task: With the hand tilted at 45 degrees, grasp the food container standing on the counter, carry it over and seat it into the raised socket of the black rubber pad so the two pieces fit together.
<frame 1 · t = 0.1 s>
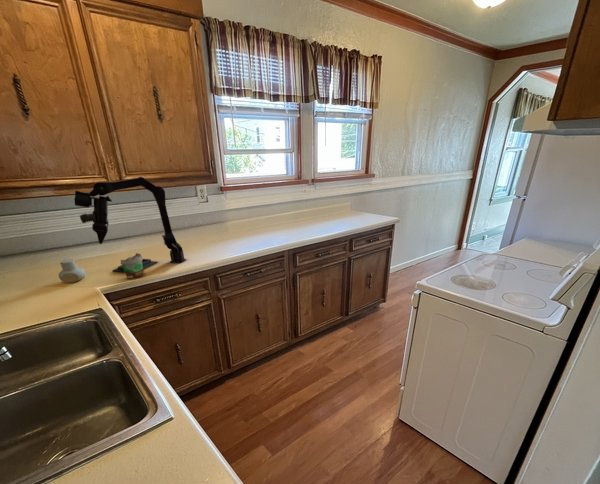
hand: (100, 241, 163), 15 cm above the worktop, tool pointing down, fingers open, 9 cm apart
air freshener: (74, 281, 158), on the worktop
pad: (135, 267, 175), on the worktop
food container: (139, 276, 162), on the worktop
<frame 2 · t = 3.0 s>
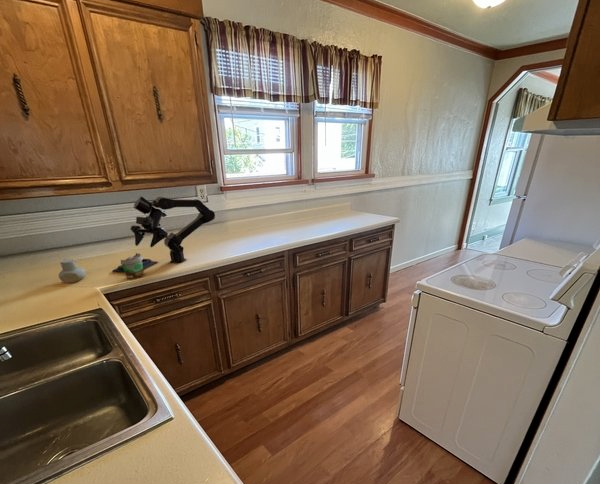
hand: (143, 246, 163), 13 cm above the worktop, tool tilted 45°, fingers open, 9 cm apart
nothing on the worktop moved.
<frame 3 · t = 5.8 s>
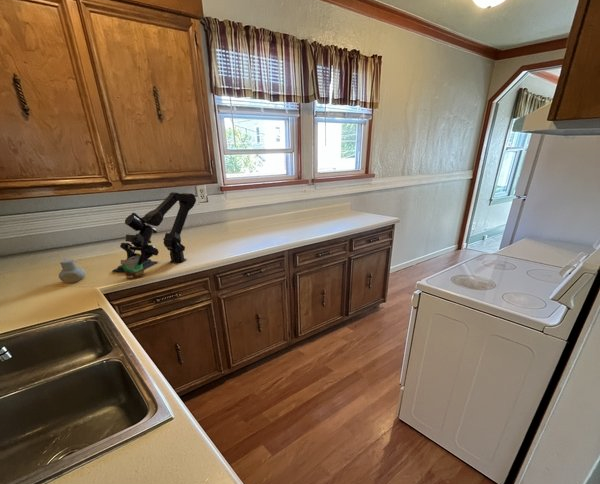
hand: (133, 264, 158), 7 cm above the worktop, tool tilted 45°, fingers closed on food container, 6 cm apart
food container: (139, 276, 162), on the worktop, touching gripper
everything else where it was.
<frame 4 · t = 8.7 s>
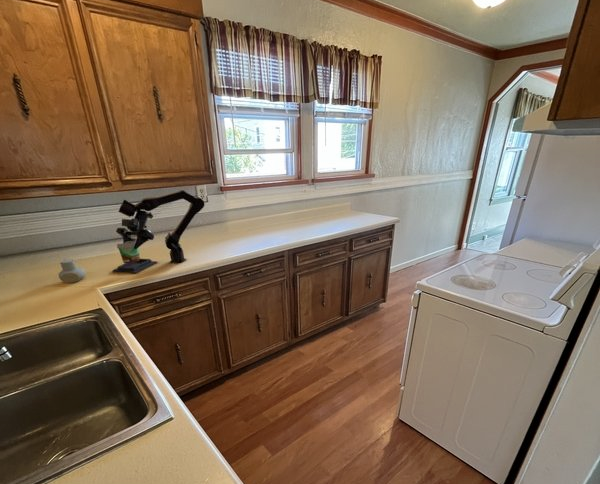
hand: (129, 248, 162), 12 cm above the worktop, tool tilted 45°, fingers closed on food container, 6 cm apart
food container: (135, 260, 166), point 6 cm above the worktop, touching gripper
everything else where it was.
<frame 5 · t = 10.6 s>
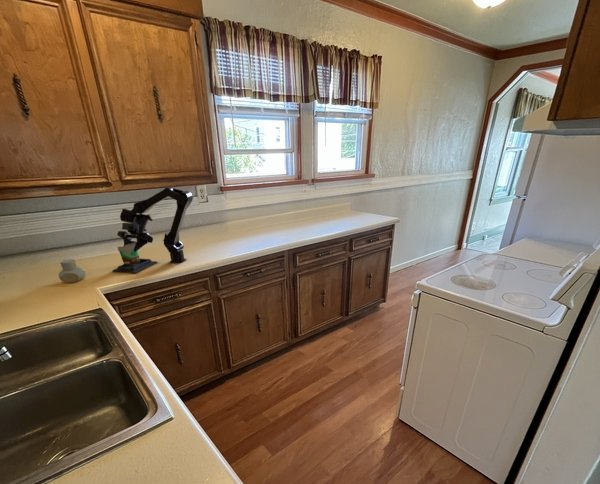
hand: (129, 250, 170), 9 cm above the worktop, tool tilted 45°, fingers closed on food container, 6 cm apart
food container: (135, 262, 174), point 2 cm above the worktop, touching gripper
everything else where it was.
when the fingers open (7 cm above the worktop, at t = 11.7 s): food container stays where it is, resting on pad.
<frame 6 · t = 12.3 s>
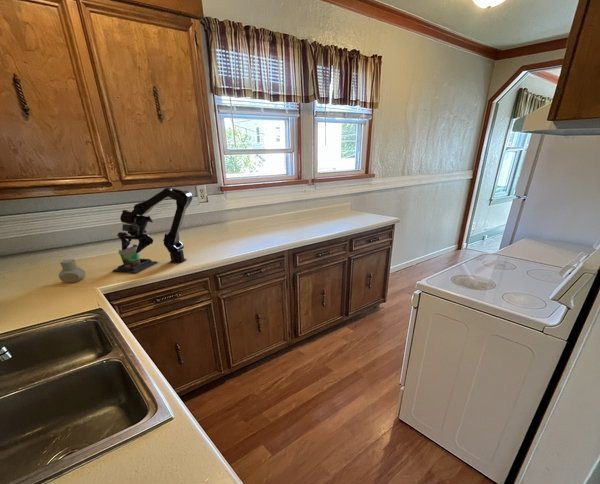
hand: (129, 252, 170), 9 cm above the worktop, tool tilted 45°, fingers open, 9 cm apart
food container: (136, 266, 175), point 1 cm above the worktop, touching pad
everything else where it was.
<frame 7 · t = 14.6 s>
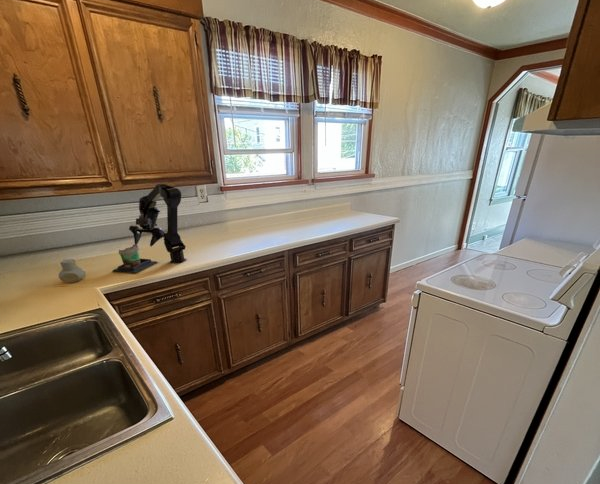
hand: (143, 245, 177), 10 cm above the worktop, tool tilted 40°, fingers open, 9 cm apart
nothing on the worktop moved.
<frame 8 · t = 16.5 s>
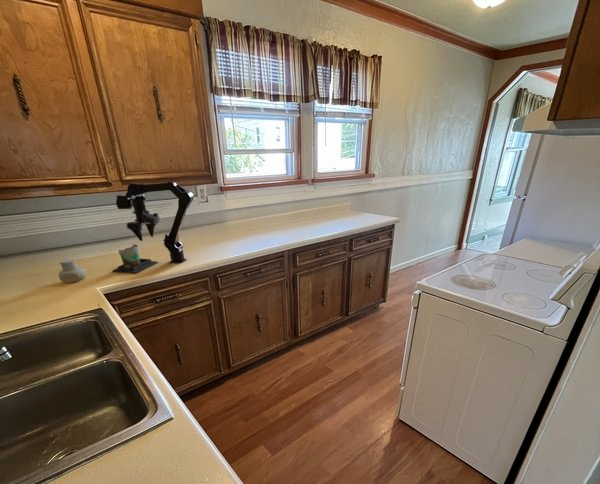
hand: (146, 238, 177), 13 cm above the worktop, tool pointing down, fingers open, 9 cm apart
nothing on the worktop moved.
at the end: food container 0.2 cm off-centre on the pad, point 0.6 cm above the pad's base; food container tilted 0°; food container touching pad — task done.
